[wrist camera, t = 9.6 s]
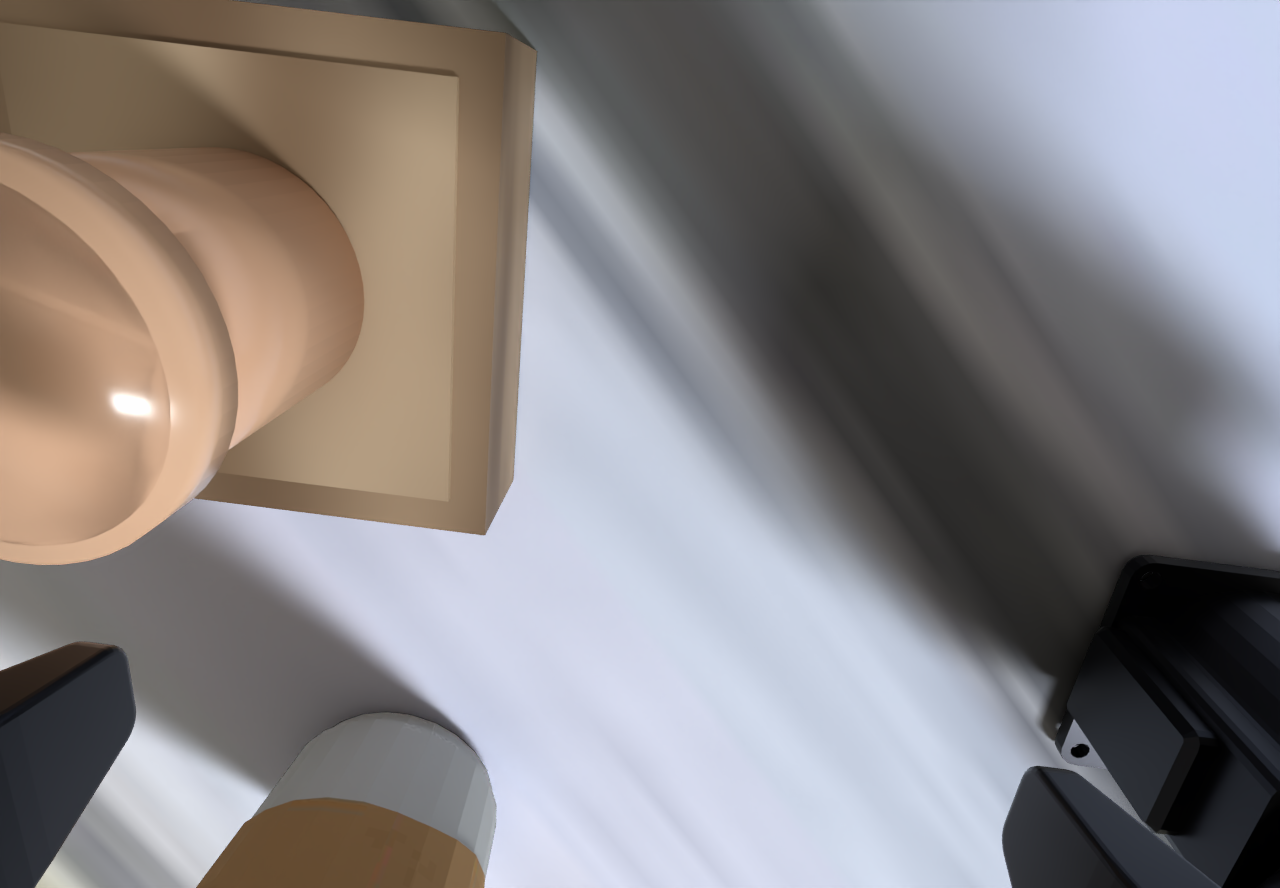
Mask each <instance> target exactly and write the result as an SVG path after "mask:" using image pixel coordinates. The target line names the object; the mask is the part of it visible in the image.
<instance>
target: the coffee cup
mask: <svg viewBox="0 0 1280 888" xmlns="http://www.w3.org/2000/svg"><path fill="white" fill-rule="evenodd" d="M495 828H496V802H495V799H494V795H493V792H492V787H491V783H490V780H489V777H488V774H487V770H486V768H485V767H484V765H483V764H482V762H481V761H480V759H479V758H478V756H477V755H476V753H475V752H474V751H473V750H472V749H471V748H470V747H469V746H468V745H467V744H466V743H465V742H464V741H462V740H461V739H460V738H459V737H458V736H457V735H455V734H454V733H452V732H450V731H448V730H447V729H445V728H443V727H441V726H440V725H438V724H436V723H434V722H431V721H428V720H425V719H422V718H419V717H416V716H413V715H407V714H399V713H390V712H382V713H372V714H362V715H359V716H356V717H354V718H351V719H348V720H345V721H342V722H340V723H339V724H338V725H336V726H335V727H333V728H330V729H327V730H325V731H324V732H322V733H321V734H319V735H318V736H317V737H315V738H314V739H312V740H311V741H310V742H308V743H307V744H306V746H305V747H304V748H303V750H302V751H301V752H300V754H299V755H298V756H297V758H296V759H295V760H294V762H293V763H292V764H291V766H290V767H289V768H288V770H287V771H286V773H285V774H284V775H283V777H282V778H281V779H280V781H279V782H278V783H277V785H276V786H275V787H274V789H273V790H272V791H271V793H270V794H269V795H268V797H267V798H266V799H265V801H264V802H263V804H262V805H261V806H260V808H259V809H258V810H257V812H256V813H255V814H254V816H253V817H252V818H251V819H250V820H248V821H247V822H245V823H244V824H243V826H242V827H241V828H240V830H239V831H238V832H237V834H236V835H235V836H234V838H233V839H232V840H231V842H230V843H229V844H228V846H227V847H226V848H225V850H224V851H223V852H222V854H221V855H220V856H219V858H218V859H217V860H216V862H215V863H214V864H213V866H212V867H211V868H210V870H209V871H208V872H207V874H206V875H205V876H204V878H203V879H202V880H201V882H200V883H199V884H198V886H197V887H196V888H484V883H485V877H486V872H487V867H488V862H489V857H490V852H491V847H492V843H493V838H494V833H495Z"/></svg>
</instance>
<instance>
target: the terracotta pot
mask: <svg viewBox="0 0 1280 888" xmlns="http://www.w3.org/2000/svg"><path fill="white" fill-rule="evenodd" d="M363 315H364V289H363V281H362V276H361V271H360V267H359V264H358V261H357V258H356V254H355V251H354V249H353V247H352V245H351V242H350V240H349V238H348V236H347V234H346V232H345V231H344V229H343V227H342V226H341V224H340V222H339V221H338V219H337V217H336V216H335V215H334V213H333V212H332V211H331V210H330V208H329V207H328V206H327V204H326V203H325V202H324V201H323V200H322V199H321V198H320V197H319V196H318V195H317V194H316V193H315V191H314V190H313V189H311V188H310V187H309V186H308V185H307V184H306V183H304V182H303V181H302V180H301V179H300V178H298V177H297V176H295V175H294V174H292V173H291V172H289V171H288V170H286V169H285V168H283V167H282V166H280V165H278V164H276V163H274V162H272V161H270V160H268V159H266V158H263V157H261V156H258V155H255V154H252V153H250V152H246V151H241V150H237V149H232V148H221V147H198V148H172V149H146V150H119V151H93V152H65V151H63V150H61V149H58V148H55V147H53V146H50V145H47V144H44V143H41V142H38V141H36V140H33V139H30V138H25V137H21V136H16V135H12V134H7V133H3V132H0V559H2V560H6V561H11V562H17V563H26V564H36V565H64V564H71V563H78V562H85V561H90V560H93V559H96V558H100V557H103V556H107V555H110V554H112V553H114V552H116V551H118V550H120V549H122V548H125V547H127V546H129V545H130V544H132V543H133V542H135V541H136V540H138V539H139V538H140V537H142V536H143V535H145V534H146V533H148V532H149V531H150V530H152V529H153V528H155V527H156V526H157V525H159V524H160V523H161V522H163V521H164V520H166V519H167V518H168V517H170V516H171V515H172V514H174V513H175V512H176V511H178V510H179V509H181V508H182V507H183V506H185V505H186V504H187V503H189V502H190V501H192V500H193V499H194V498H195V497H196V496H197V495H198V494H199V493H200V492H201V491H202V490H203V489H204V488H205V487H206V486H207V485H208V483H209V482H210V481H211V479H212V478H213V477H214V475H215V474H216V472H217V471H218V470H219V468H220V466H221V464H222V462H223V460H224V458H225V456H226V454H227V452H228V450H229V449H231V448H232V447H234V446H235V445H237V444H238V443H240V442H241V441H243V440H244V439H246V438H247V437H249V436H250V435H251V434H253V433H254V432H256V431H257V430H259V429H260V428H262V427H263V426H265V425H266V424H268V423H269V422H271V421H272V420H274V419H275V418H276V417H278V416H279V415H281V414H282V413H284V412H285V411H287V410H288V409H290V408H291V407H293V406H294V405H296V404H297V403H299V402H300V401H302V400H303V399H304V398H306V397H307V396H309V395H310V394H312V393H313V392H315V391H316V390H318V389H319V388H321V387H322V386H323V385H325V384H326V383H328V382H329V381H330V380H331V379H332V378H333V377H334V376H335V375H336V374H338V373H339V372H340V370H341V369H342V368H343V366H344V365H345V364H346V362H347V361H348V360H349V358H350V356H351V354H352V352H353V350H354V348H355V346H356V344H357V341H358V338H359V335H360V332H361V327H362V322H363Z"/></svg>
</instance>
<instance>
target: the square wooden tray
mask: <svg viewBox="0 0 1280 888" xmlns="http://www.w3.org/2000/svg"><path fill="white" fill-rule="evenodd" d="M536 60H537V51H536V50H534V49H532V48H531V47H529V46H527V45H526V44H524V43H522V42H520V41H519V40H517V39H515V38H514V37H512V36H510V35H509V34H507V33H503V32H494V31H486V30H478V29H469V28H461V27H452V26H444V25H435V24H427V23H419V22H410V21H402V20H393V19H385V18H376V17H368V16H360V15H351V14H343V13H334V12H326V11H317V10H309V9H301V8H292V7H284V6H275V5H267V4H259V3H250V2H242V1H233V0H0V132H3V133H7V134H12V135H16V136H21V137H25V138H30V139H33V140H36V141H38V142H41V143H44V144H47V145H50V146H53V147H55V148H58V149H61V150H63V151H65V152H93V151H119V150H146V149H172V148H198V147H221V148H232V149H237V150H241V151H246V152H250V153H252V154H255V155H258V156H261V157H263V158H266V159H268V160H270V161H272V162H274V163H276V164H278V165H280V166H282V167H283V168H285V169H286V170H288V171H289V172H291V173H292V174H294V175H295V176H297V177H298V178H300V179H301V180H302V181H303V182H304V183H306V184H307V185H308V186H309V187H310V188H311V189H313V190H314V191H315V193H316V194H317V195H318V196H319V197H320V198H321V199H322V200H323V201H324V202H325V203H326V204H327V206H328V207H329V208H330V210H331V211H332V212H333V213H334V215H335V216H336V217H337V219H338V221H339V222H340V224H341V226H342V227H343V229H344V231H345V232H346V234H347V236H348V238H349V240H350V242H351V245H352V247H353V249H354V251H355V254H356V258H357V261H358V264H359V267H360V271H361V276H362V281H363V289H364V315H363V322H362V327H361V332H360V335H359V338H358V341H357V344H356V346H355V348H354V350H353V352H352V354H351V356H350V358H349V360H348V361H347V362H346V364H345V365H344V366H343V368H342V369H341V370H340V372H339V373H338V374H336V375H335V376H334V377H333V378H332V379H331V380H330V381H329V382H328V383H326V384H325V385H323V386H322V387H321V388H319V389H318V390H316V391H315V392H313V393H312V394H310V395H309V396H307V397H306V398H304V399H303V400H302V401H300V402H299V403H297V404H296V405H294V406H293V407H291V408H290V409H288V410H287V411H285V412H284V413H282V414H281V415H279V416H278V417H276V418H275V419H274V420H272V421H271V422H269V423H268V424H266V425H265V426H263V427H262V428H260V429H259V430H257V431H256V432H254V433H253V434H251V435H250V436H249V437H247V438H246V439H244V440H243V441H241V442H240V443H238V444H237V445H235V446H234V447H232V448H231V449H229V450H228V452H227V454H226V456H225V458H224V460H223V462H222V464H221V466H220V468H219V470H218V471H217V472H216V474H215V475H214V477H213V478H212V479H211V481H210V482H209V483H208V485H207V486H206V487H205V488H204V489H203V490H202V491H201V492H200V493H199V494H198V495H197V496H196V497H195V498H196V499H204V500H212V501H219V502H227V503H235V504H243V505H251V506H259V507H266V508H274V509H282V510H290V511H298V512H306V513H314V514H321V515H329V516H337V517H345V518H353V519H361V520H368V521H376V522H384V523H392V524H400V525H408V526H415V527H423V528H431V529H439V530H447V531H455V532H463V533H470V534H478V535H485V534H486V532H487V530H488V528H489V526H490V524H491V522H492V521H493V519H494V517H495V515H496V513H497V511H498V509H499V507H500V505H501V503H502V501H503V499H504V497H505V495H506V493H507V491H508V489H509V487H510V486H511V484H512V482H513V476H514V458H515V440H516V422H517V403H518V385H519V367H520V349H521V331H522V313H523V295H524V277H525V259H526V241H527V223H528V204H529V186H530V168H531V150H532V132H533V114H534V96H535V78H536Z"/></svg>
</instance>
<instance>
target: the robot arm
mask: <svg viewBox="0 0 1280 888" xmlns="http://www.w3.org/2000/svg"><path fill="white" fill-rule="evenodd" d="M1148 572H1152V575H1151V576H1150V577H1149V578H1148V579H1146V580H1142V581H1140V579H1141V578H1142V576H1143V575H1144V574H1146V573H1148ZM135 718H136V706H135V700H134V694H133V688H132V682H131V676H130V670H129V663H128V658H127V655H126V654H125V652H124V651H123V650H122V648H120V647H117V646H115V645H108V644H100V643H93V642H74V643H71V644H68V645H66V646H63V647H61V648H58V649H56V650H53V651H50V652H48V653H45V654H43V655H40V656H38V657H35V658H32V659H30V660H27V661H25V662H22V663H20V664H17V665H14V666H12V667H9V668H7V669H4V670H2V671H0V888H35V886H36V885H37V883H38V882H39V880H40V879H41V877H42V876H43V874H44V873H45V871H46V870H47V868H48V867H49V865H50V864H51V862H52V861H53V859H54V857H55V856H56V854H57V852H58V851H59V849H60V848H61V846H62V844H63V843H64V841H65V840H66V838H67V836H68V835H69V833H70V832H71V830H72V828H73V827H74V825H75V824H76V822H77V820H78V819H79V817H80V816H81V814H82V812H83V811H84V809H85V808H86V806H87V804H88V803H89V801H90V800H91V798H92V796H93V795H94V793H95V791H96V790H97V788H98V787H99V785H100V783H101V782H102V780H103V779H104V777H105V775H106V774H107V772H108V771H109V769H110V767H111V766H112V764H113V763H114V761H115V759H116V758H117V756H118V755H119V753H120V751H121V750H122V748H123V747H124V745H125V743H126V742H127V740H128V738H129V736H130V734H131V732H132V730H133V727H134V723H135ZM1077 744H1080V745H1079V746H1077V747H1073V746H1075V745H1077ZM1055 745H1056V748H1057V749H1058V751H1059V753H1060V754H1061V756H1062V758H1063V759H1064V760H1065V761H1066V762H1068V763H1070V764H1074V765H1080V766H1088V767H1096V768H1103V769H1108V771H1109V772H1110V774H1111V775H1112V777H1113V778H1114V780H1115V781H1116V783H1117V784H1118V786H1119V787H1120V789H1121V790H1122V792H1123V793H1124V795H1125V796H1126V798H1127V799H1128V801H1129V802H1130V804H1131V805H1132V807H1133V808H1134V810H1135V811H1136V813H1137V814H1138V816H1139V817H1140V819H1141V820H1142V821H1143V823H1144V824H1145V826H1146V827H1147V828H1148V829H1149V830H1150V831H1149V830H1148V829H1147V828H1146V827H1144V826H1143V825H1142V824H1141V823H1139V822H1138V821H1137V820H1136V819H1134V818H1133V817H1132V816H1131V815H1129V814H1128V813H1127V812H1126V811H1124V810H1123V809H1122V808H1121V807H1119V806H1118V805H1117V804H1116V803H1114V802H1113V801H1112V800H1111V799H1109V798H1108V797H1107V796H1106V795H1104V794H1103V793H1102V792H1101V791H1099V790H1098V789H1097V788H1096V787H1094V786H1093V785H1092V784H1091V783H1089V782H1088V781H1087V780H1086V779H1084V778H1083V777H1082V776H1080V775H1079V774H1078V773H1076V772H1074V771H1070V770H1066V769H1058V768H1051V767H1043V766H1034V767H1030V768H1029V769H1028V770H1027V771H1026V772H1025V773H1024V775H1023V777H1022V779H1021V782H1020V784H1019V787H1018V790H1017V792H1016V795H1015V797H1014V800H1013V803H1012V805H1011V808H1010V810H1009V813H1008V815H1007V818H1006V821H1005V823H1004V827H1003V833H1002V845H1003V852H1004V857H1005V861H1006V865H1007V869H1008V873H1009V877H1010V881H1011V885H1012V888H1280V572H1279V571H1271V570H1264V569H1256V568H1248V567H1240V566H1232V565H1224V564H1216V563H1208V562H1200V561H1192V560H1184V559H1176V558H1169V557H1161V556H1153V555H1141V556H1138V557H1135V558H1133V559H1132V560H1130V561H1129V562H1128V563H1126V565H1125V567H1124V568H1123V570H1122V572H1121V575H1120V577H1119V580H1118V582H1117V585H1116V587H1115V590H1114V592H1113V595H1112V597H1111V600H1110V602H1109V605H1108V607H1107V610H1106V613H1105V615H1104V618H1103V620H1102V623H1101V625H1100V628H1099V630H1098V631H1097V632H1096V633H1095V635H1094V637H1093V639H1092V642H1091V645H1090V647H1089V650H1088V652H1087V655H1086V657H1085V660H1084V662H1083V665H1082V667H1081V670H1080V672H1079V675H1078V677H1077V680H1076V682H1075V685H1074V687H1073V690H1072V692H1071V695H1070V698H1069V700H1068V703H1067V711H1066V713H1065V716H1064V718H1063V721H1062V723H1061V726H1060V728H1059V731H1058V733H1057V736H1056V739H1055ZM1153 833H1158V834H1164V835H1165V837H1166V838H1167V840H1168V841H1169V843H1170V844H1171V845H1172V847H1173V848H1174V850H1173V849H1172V848H1171V847H1170V846H1168V845H1167V844H1166V843H1165V842H1163V841H1162V840H1161V839H1159V838H1158V837H1157V836H1156V835H1154V834H1153Z"/></svg>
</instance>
